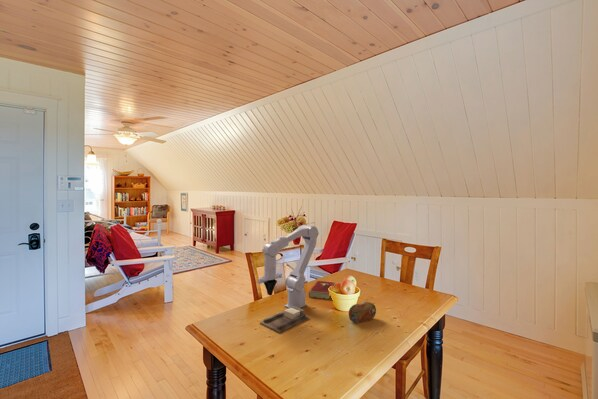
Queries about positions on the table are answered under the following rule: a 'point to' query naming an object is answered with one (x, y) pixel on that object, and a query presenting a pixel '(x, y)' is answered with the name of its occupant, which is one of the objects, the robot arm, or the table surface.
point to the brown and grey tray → (284, 321)
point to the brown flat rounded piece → (362, 312)
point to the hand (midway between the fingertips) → (269, 294)
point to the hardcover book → (321, 289)
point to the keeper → (291, 313)
